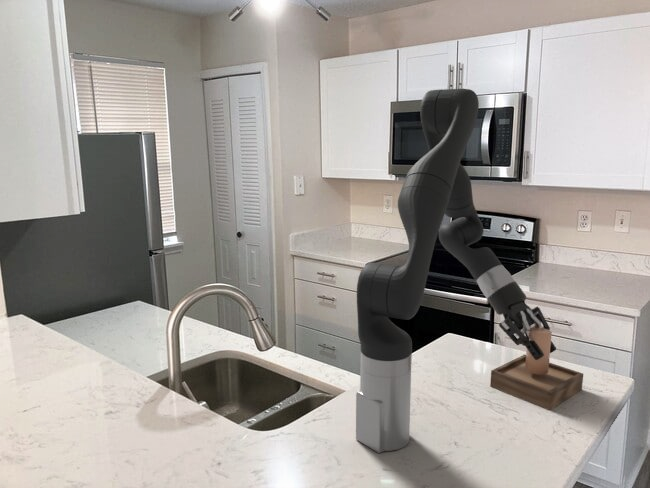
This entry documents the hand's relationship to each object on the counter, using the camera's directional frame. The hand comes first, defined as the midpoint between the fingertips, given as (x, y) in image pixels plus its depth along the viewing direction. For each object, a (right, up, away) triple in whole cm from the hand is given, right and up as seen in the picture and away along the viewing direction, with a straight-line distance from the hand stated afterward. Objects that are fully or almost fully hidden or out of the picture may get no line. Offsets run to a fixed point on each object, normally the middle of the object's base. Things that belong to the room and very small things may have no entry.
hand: (546, 354), depth 116 cm
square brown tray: (-1, -8, +3) cm, 9 cm away
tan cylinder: (-1, -4, +2) cm, 5 cm away
